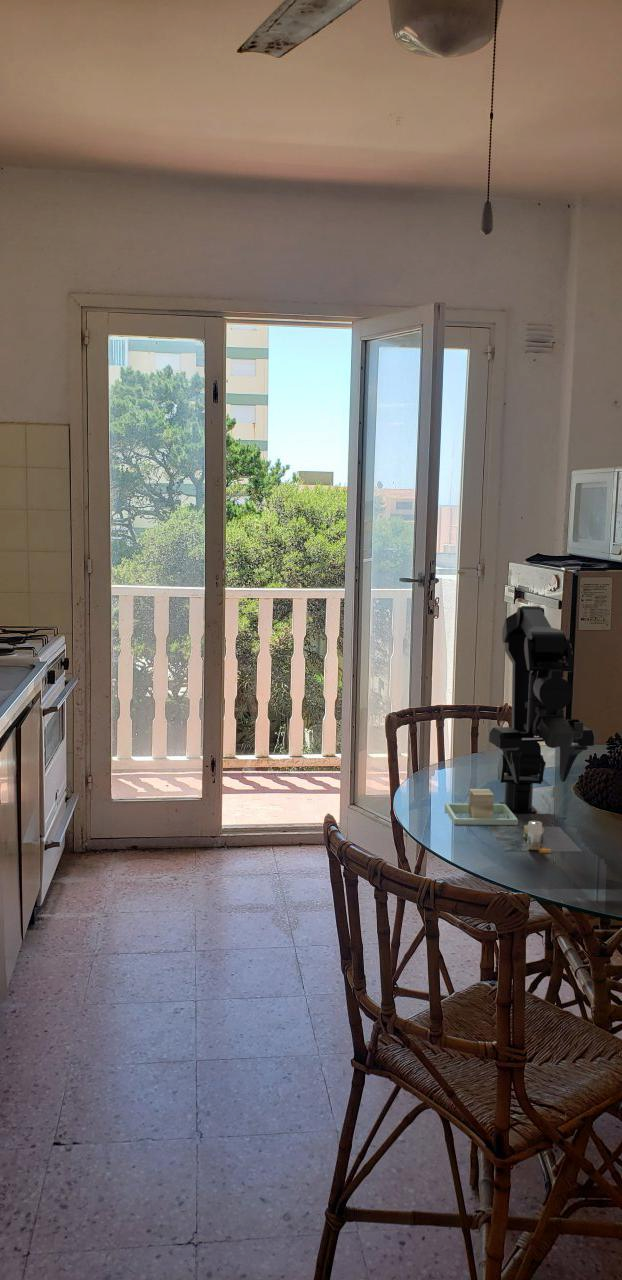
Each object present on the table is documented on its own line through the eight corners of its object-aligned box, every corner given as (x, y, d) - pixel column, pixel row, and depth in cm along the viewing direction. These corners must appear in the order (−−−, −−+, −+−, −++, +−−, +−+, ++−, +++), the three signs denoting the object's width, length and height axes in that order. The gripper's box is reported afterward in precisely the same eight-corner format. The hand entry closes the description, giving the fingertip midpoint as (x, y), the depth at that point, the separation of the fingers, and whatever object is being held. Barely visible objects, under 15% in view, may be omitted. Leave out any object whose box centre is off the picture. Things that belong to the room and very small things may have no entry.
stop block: (468, 817, 198) (469, 788, 197) (487, 818, 198) (489, 789, 198) (472, 824, 194) (473, 794, 193) (492, 824, 194) (493, 794, 194)
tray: (444, 815, 201) (445, 803, 201) (504, 815, 202) (505, 803, 201) (454, 831, 191) (454, 819, 191) (517, 832, 191) (518, 819, 191)
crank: (523, 833, 185) (524, 807, 185) (543, 835, 184) (544, 809, 184) (523, 851, 175) (524, 823, 175) (544, 852, 175) (545, 825, 174)
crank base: (487, 834, 190) (487, 823, 190) (559, 834, 191) (559, 824, 190) (505, 860, 175) (506, 849, 175) (583, 861, 176) (583, 850, 176)
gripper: (514, 708, 171) (510, 796, 173) (612, 706, 175) (607, 792, 177) (489, 697, 182) (486, 779, 184) (582, 695, 186) (578, 776, 188)
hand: (539, 782), depth 183 cm, fingers open, 9 cm apart
